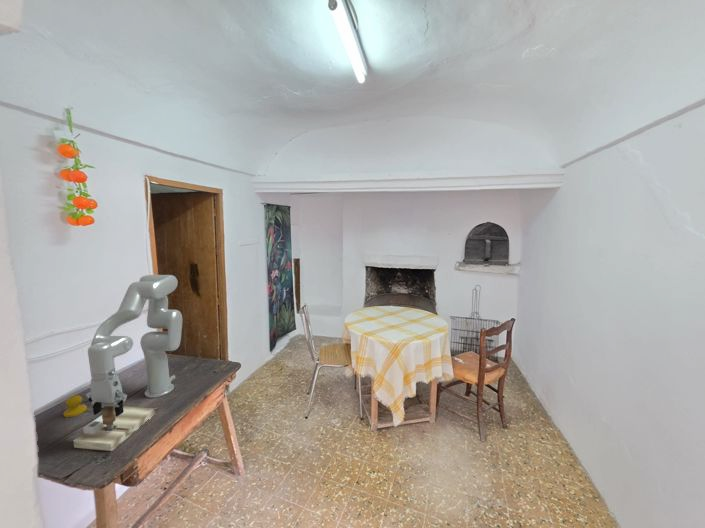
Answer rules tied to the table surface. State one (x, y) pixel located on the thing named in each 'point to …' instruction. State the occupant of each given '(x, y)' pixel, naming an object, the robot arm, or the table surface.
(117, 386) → the robot arm
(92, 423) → the block
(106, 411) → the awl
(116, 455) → the table surface
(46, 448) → the table surface
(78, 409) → the doorknob
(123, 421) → the cream slotted tray
